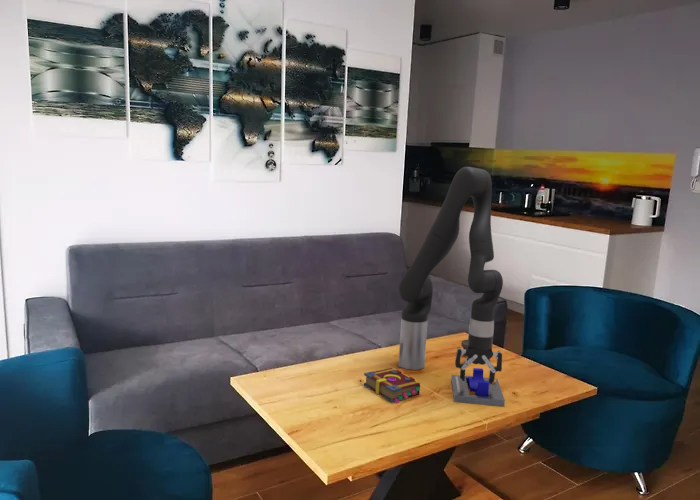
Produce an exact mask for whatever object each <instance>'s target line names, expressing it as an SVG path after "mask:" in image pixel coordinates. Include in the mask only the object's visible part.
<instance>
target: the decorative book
mask: <svg viewBox="0 0 700 500" xmlns="http://www.w3.org/2000/svg"><path fill="white" fill-rule="evenodd" d="M363 376H365V382H363V386H364V387H365V388H367V389H369V390H372V391H374V392H375V394H376V395H379V396H382V398H384V399H385V400H387V401H388V402H390V403H391V404H394V403H395V405H396V404H399V403H400V402H401V401H402V400H405V399H406V400H407V399H410V398H414V397H418V396H420V393H421V392H420V391H421V383H420V382H418V381H416V379H415V378H414V377H411V376H408V375H405V374H404V373H402V371H401V370H399V369H394V367H393V368H392V367H390V368H384V369H380V370H375V371H374V370H372V371H367V372H364V373H363Z"/></svg>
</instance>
